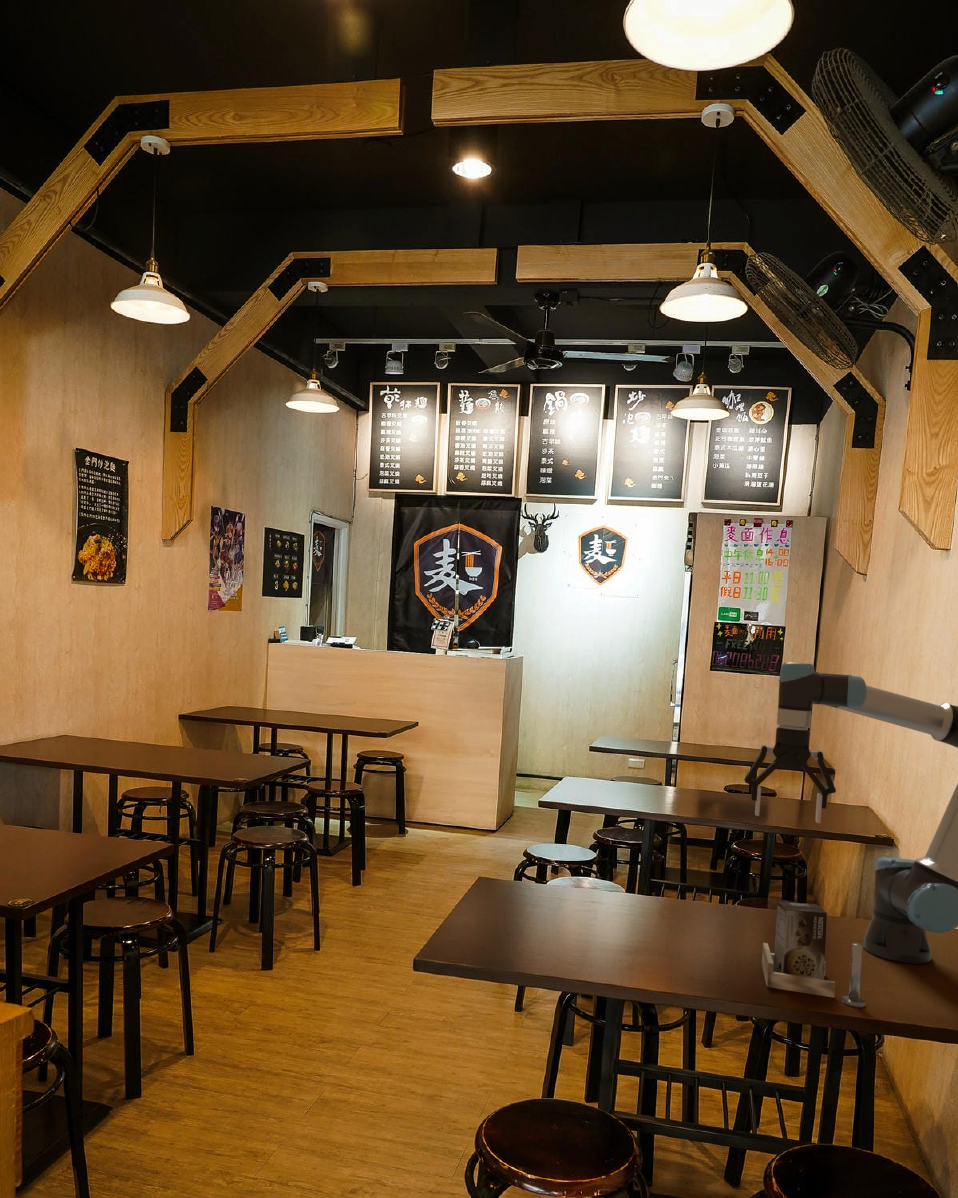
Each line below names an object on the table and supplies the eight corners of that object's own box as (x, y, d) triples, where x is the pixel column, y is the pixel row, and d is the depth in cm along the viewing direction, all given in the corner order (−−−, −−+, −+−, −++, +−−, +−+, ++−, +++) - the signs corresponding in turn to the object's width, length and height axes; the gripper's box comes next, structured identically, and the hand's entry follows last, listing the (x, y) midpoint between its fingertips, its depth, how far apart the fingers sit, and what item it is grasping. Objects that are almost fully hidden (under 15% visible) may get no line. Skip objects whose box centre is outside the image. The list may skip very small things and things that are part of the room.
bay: (824, 975, 200) (825, 952, 201) (834, 997, 187) (835, 973, 187) (761, 965, 204) (763, 942, 204) (767, 986, 190) (768, 963, 190)
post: (862, 1001, 186) (866, 943, 187) (867, 1009, 182) (870, 949, 182) (840, 997, 187) (844, 939, 188) (844, 1005, 183) (847, 946, 183)
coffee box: (812, 977, 198) (817, 903, 199) (824, 988, 192) (828, 912, 193) (771, 974, 198) (776, 900, 199) (781, 985, 192) (786, 909, 193)
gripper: (846, 732, 211) (841, 822, 210) (737, 721, 217) (731, 809, 216) (852, 734, 204) (846, 828, 203) (739, 723, 210) (733, 814, 209)
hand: (787, 818), depth 209 cm, fingers open, 13 cm apart
